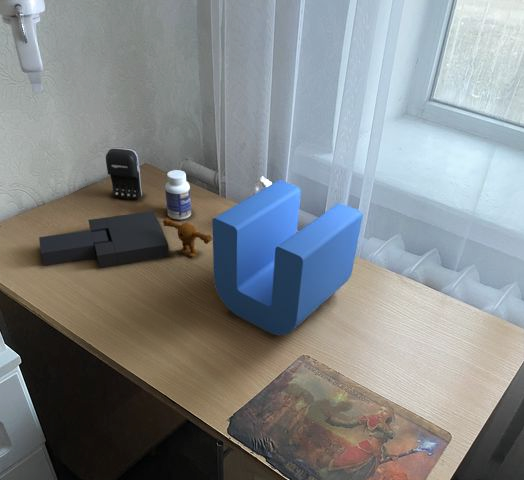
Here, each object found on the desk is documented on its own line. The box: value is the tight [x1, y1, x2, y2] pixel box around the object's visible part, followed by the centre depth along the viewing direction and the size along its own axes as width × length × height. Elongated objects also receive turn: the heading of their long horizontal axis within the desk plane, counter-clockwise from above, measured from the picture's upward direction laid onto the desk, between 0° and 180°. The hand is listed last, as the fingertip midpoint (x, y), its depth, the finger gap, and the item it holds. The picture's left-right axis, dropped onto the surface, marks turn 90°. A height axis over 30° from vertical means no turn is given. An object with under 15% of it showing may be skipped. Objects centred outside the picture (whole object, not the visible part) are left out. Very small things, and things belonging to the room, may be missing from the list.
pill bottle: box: [164, 169, 192, 221], centre depth 119 cm, size 5×5×10 cm
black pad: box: [88, 210, 170, 269], centre depth 111 cm, size 14×14×3 cm
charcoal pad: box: [38, 229, 110, 266], centre depth 108 cm, size 13×6×3 cm, turn 110°
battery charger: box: [105, 146, 143, 201], centre depth 123 cm, size 7×4×11 cm, turn 82°
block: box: [211, 179, 364, 336], centre depth 95 cm, size 18×18×18 cm
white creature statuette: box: [252, 175, 273, 195], centre depth 115 cm, size 10×9×12 cm
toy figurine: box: [162, 217, 213, 258], centre depth 108 cm, size 12×4×7 cm, turn 56°
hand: (36, 83), depth 103 cm, fingers open, 8 cm apart
